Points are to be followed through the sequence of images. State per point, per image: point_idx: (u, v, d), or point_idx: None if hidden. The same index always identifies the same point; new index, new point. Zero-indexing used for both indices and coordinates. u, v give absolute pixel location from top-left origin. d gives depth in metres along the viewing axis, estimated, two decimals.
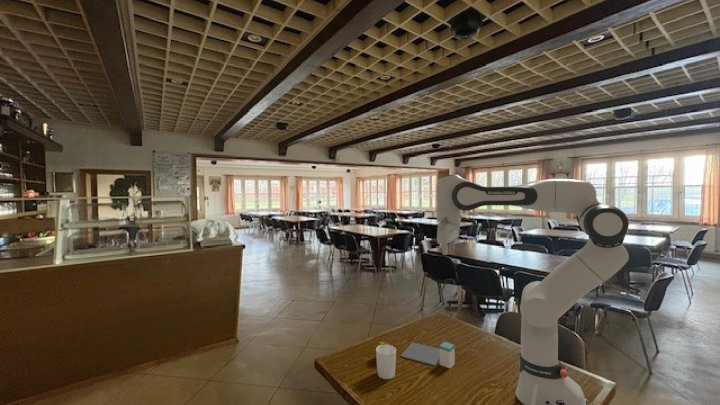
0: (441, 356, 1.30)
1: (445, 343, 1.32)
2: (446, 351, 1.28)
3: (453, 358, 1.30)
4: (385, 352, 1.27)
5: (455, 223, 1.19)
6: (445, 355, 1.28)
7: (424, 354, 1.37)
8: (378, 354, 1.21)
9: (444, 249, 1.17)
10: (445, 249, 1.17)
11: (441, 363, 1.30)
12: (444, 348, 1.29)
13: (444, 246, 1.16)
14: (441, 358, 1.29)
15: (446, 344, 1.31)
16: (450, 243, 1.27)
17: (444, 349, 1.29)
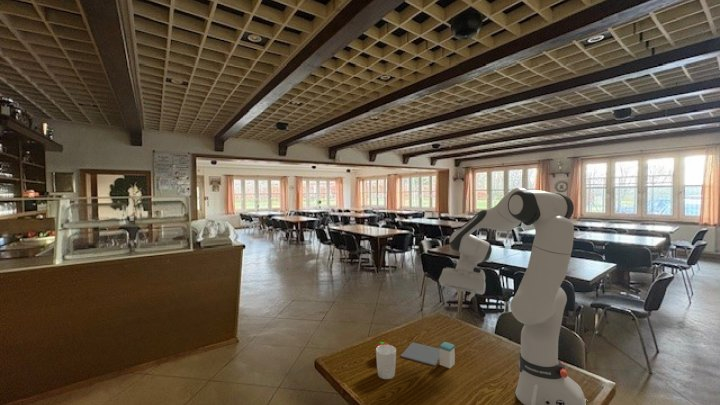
0: (441, 356, 1.30)
1: (445, 343, 1.32)
2: (446, 351, 1.28)
3: (453, 358, 1.30)
4: (385, 352, 1.27)
5: (460, 271, 1.43)
6: (445, 355, 1.28)
7: (424, 354, 1.37)
8: (378, 354, 1.21)
9: (446, 290, 1.43)
10: None
11: (441, 363, 1.30)
12: (444, 348, 1.29)
13: (445, 287, 1.44)
14: (441, 358, 1.29)
15: (446, 344, 1.31)
16: None
17: (444, 349, 1.29)
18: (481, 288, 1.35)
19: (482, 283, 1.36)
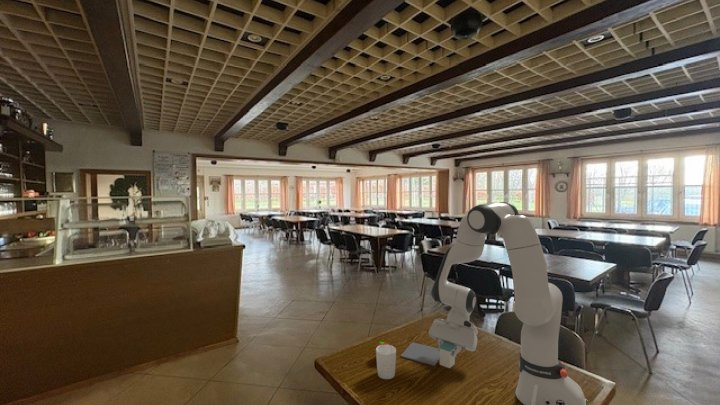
0: (441, 356, 1.30)
1: (445, 343, 1.32)
2: (446, 351, 1.28)
3: (453, 358, 1.30)
4: (385, 352, 1.27)
5: (450, 324, 1.35)
6: (445, 355, 1.28)
7: (424, 354, 1.37)
8: (378, 354, 1.21)
9: None
10: None
11: (441, 363, 1.30)
12: (444, 348, 1.29)
13: None
14: (441, 358, 1.29)
15: (446, 344, 1.31)
16: None
17: (444, 349, 1.29)
18: (471, 345, 1.26)
19: (472, 339, 1.27)
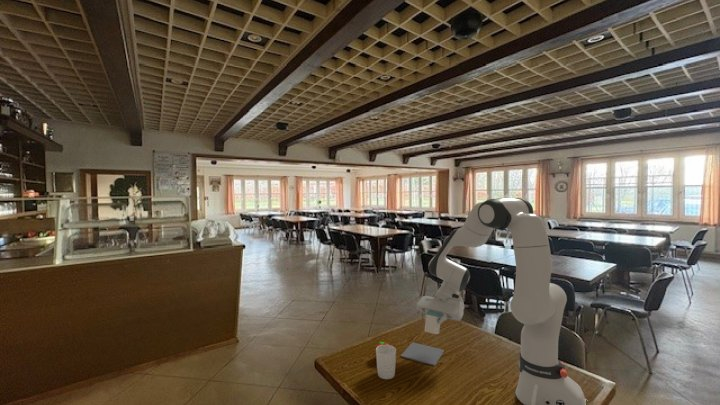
0: (426, 323, 1.31)
1: (432, 312, 1.34)
2: (432, 316, 1.31)
3: (438, 327, 1.31)
4: (385, 352, 1.27)
5: (439, 296, 1.39)
6: (431, 320, 1.30)
7: (424, 354, 1.37)
8: (378, 354, 1.21)
9: (425, 315, 1.36)
10: (425, 315, 1.36)
11: (426, 329, 1.30)
12: (431, 313, 1.31)
13: None
14: (427, 324, 1.31)
15: (433, 312, 1.33)
16: None
17: (431, 314, 1.31)
18: (457, 312, 1.29)
19: (459, 308, 1.31)
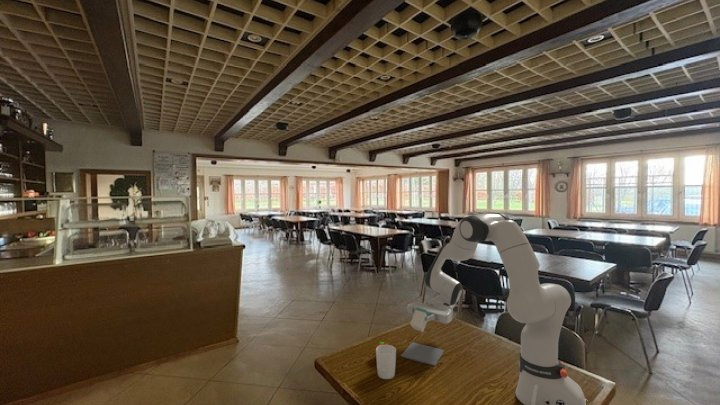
0: (414, 317, 1.35)
1: None
2: (421, 312, 1.35)
3: (424, 325, 1.34)
4: (385, 352, 1.27)
5: (430, 302, 1.45)
6: (419, 315, 1.35)
7: (424, 354, 1.37)
8: (378, 354, 1.21)
9: None
10: None
11: (412, 323, 1.34)
12: (420, 309, 1.36)
13: None
14: (414, 318, 1.35)
15: None
16: None
17: (420, 310, 1.36)
18: (446, 314, 1.34)
19: (448, 312, 1.36)
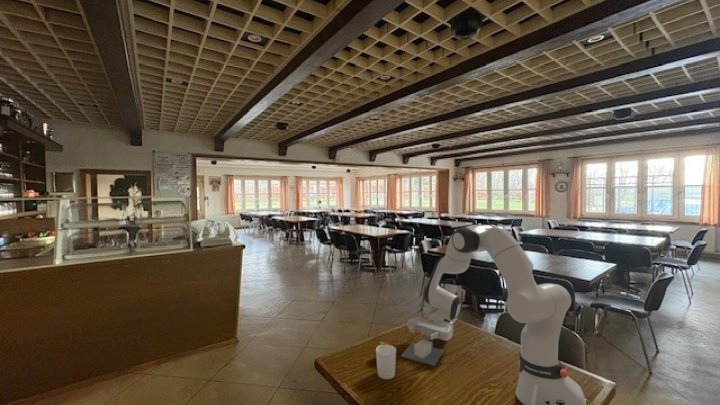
0: (419, 342, 1.39)
1: None
2: (427, 341, 1.40)
3: (426, 353, 1.36)
4: (385, 352, 1.27)
5: (431, 318, 1.45)
6: (425, 342, 1.38)
7: None
8: (378, 354, 1.21)
9: None
10: None
11: (416, 344, 1.37)
12: (427, 340, 1.41)
13: (411, 327, 1.43)
14: (419, 343, 1.38)
15: None
16: None
17: (426, 340, 1.41)
18: (446, 331, 1.34)
19: (448, 329, 1.36)
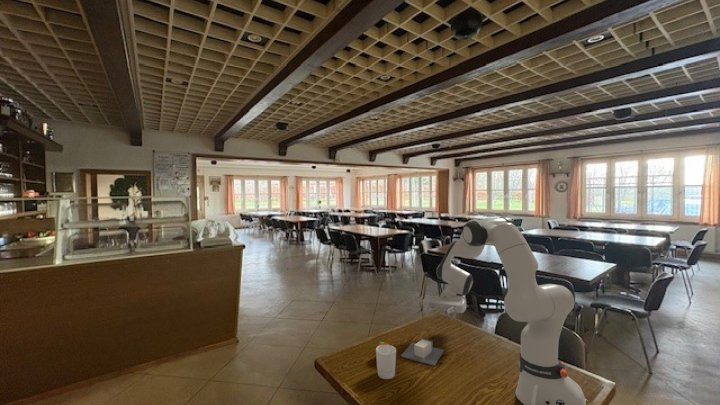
0: (419, 342, 1.39)
1: None
2: (427, 341, 1.40)
3: (426, 353, 1.36)
4: (385, 352, 1.27)
5: (444, 295, 1.54)
6: (425, 342, 1.38)
7: None
8: (378, 354, 1.21)
9: None
10: None
11: (416, 344, 1.37)
12: (427, 340, 1.41)
13: None
14: (419, 343, 1.38)
15: None
16: None
17: (426, 340, 1.41)
18: (460, 304, 1.43)
19: (462, 302, 1.45)
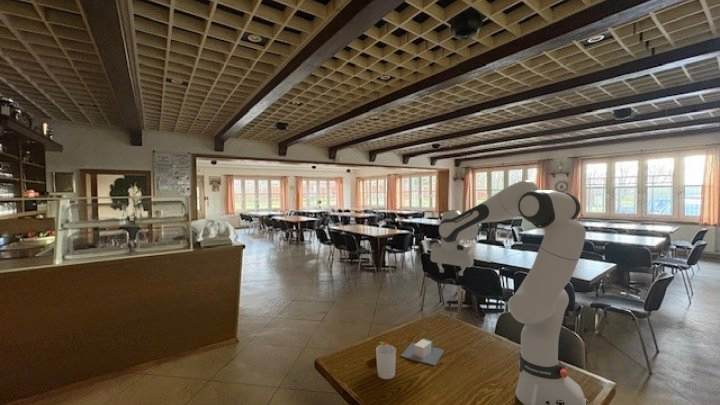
0: (419, 342, 1.39)
1: None
2: (427, 341, 1.40)
3: (426, 353, 1.36)
4: (385, 352, 1.27)
5: (446, 250, 1.46)
6: (425, 342, 1.38)
7: None
8: (378, 354, 1.21)
9: None
10: None
11: (416, 344, 1.37)
12: (427, 340, 1.41)
13: None
14: (419, 343, 1.38)
15: None
16: None
17: (426, 340, 1.41)
18: (468, 265, 1.40)
19: (468, 260, 1.39)
